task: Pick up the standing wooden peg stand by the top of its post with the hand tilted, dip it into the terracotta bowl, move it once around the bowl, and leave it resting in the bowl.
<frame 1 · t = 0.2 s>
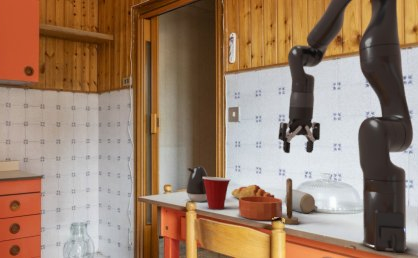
hand: (298, 152, 138), 22 cm above the table, tool pointing down, fingers open, 8 cm apart
croissant: (252, 200, 174), on the table
wooden peg stand: (289, 222, 130), on the table
plastic cup: (216, 208, 156), on the table
pump dispenser: (198, 201, 172), on the table
ceramic mug: (302, 211, 148), on the table
bowl: (260, 216, 139), on the table
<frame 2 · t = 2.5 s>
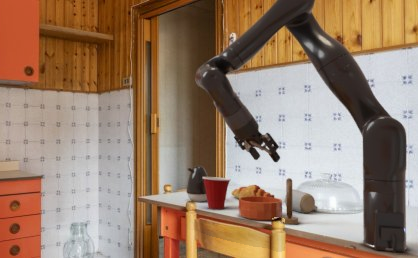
hand: (267, 159, 125), 21 cm above the table, tool tilted 40°, fingers open, 8 cm apart
nothing on the table moved.
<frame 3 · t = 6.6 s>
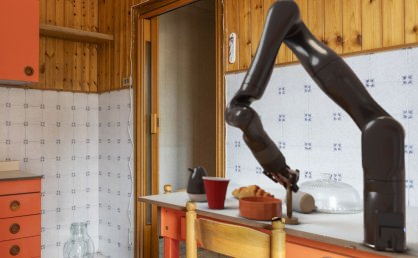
hand: (293, 190, 131), 10 cm above the table, tool tilted 45°, fingers closed on wooden peg stand
wooden peg stand: (289, 222, 130), on the table, touching gripper
everything else where it was.
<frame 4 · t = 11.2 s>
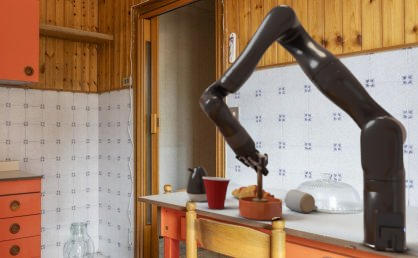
hand: (263, 173, 141), 15 cm above the table, tool tilted 45°, fingers closed on wooden peg stand
wooden peg stand: (259, 203, 139), point 4 cm above the table, touching gripper
everything else where it was.
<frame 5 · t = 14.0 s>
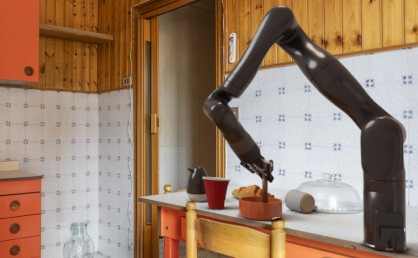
hand: (269, 180, 139), 13 cm above the table, tool tilted 45°, fingers closed on wooden peg stand
wooden peg stand: (265, 210, 137), point 2 cm above the table, touching gripper
everything else where it was.
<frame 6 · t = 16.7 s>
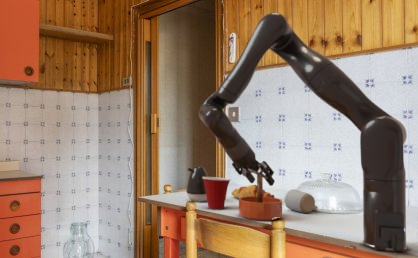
hand: (262, 182, 140), 12 cm above the table, tool tilted 45°, fingers open, 8 cm apart
wooden peg stand: (260, 215, 139), point 1 cm above the table, touching bowl
everything else where it was.
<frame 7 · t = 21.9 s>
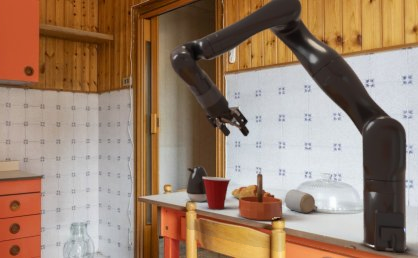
hand: (237, 134, 134), 29 cm above the table, tool tilted 45°, fingers open, 8 cm apart
nothing on the table moved.
at the end: wooden peg stand inside the target area in the bowl (0.1 cm from its centre), point 0.6 cm above the bowl's base; the gripper is holding nothing; wooden peg stand moved 11.4 cm from its start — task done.
